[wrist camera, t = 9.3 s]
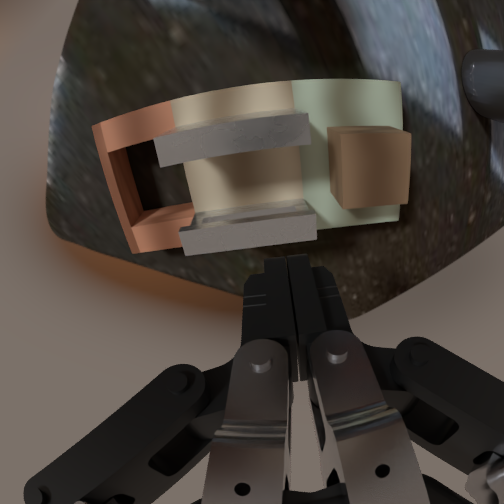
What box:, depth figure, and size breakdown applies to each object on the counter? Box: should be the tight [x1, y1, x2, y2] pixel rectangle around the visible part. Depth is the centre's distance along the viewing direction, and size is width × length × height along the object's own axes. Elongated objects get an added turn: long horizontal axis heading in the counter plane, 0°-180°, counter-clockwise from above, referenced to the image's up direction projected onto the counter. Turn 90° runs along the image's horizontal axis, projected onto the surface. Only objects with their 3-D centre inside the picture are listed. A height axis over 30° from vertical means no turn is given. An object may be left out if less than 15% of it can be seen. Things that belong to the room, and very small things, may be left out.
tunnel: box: [153, 108, 317, 256], centre depth 21 cm, size 10×9×6 cm
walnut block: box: [327, 126, 411, 209], centre depth 21 cm, size 6×6×4 cm
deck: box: [92, 79, 403, 254], centre depth 25 cm, size 28×14×4 cm, turn 98°
